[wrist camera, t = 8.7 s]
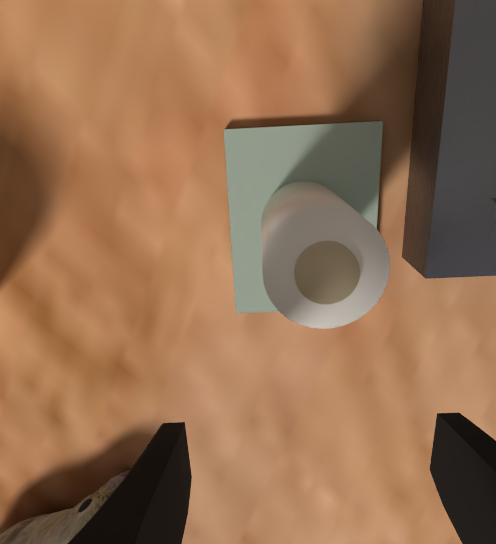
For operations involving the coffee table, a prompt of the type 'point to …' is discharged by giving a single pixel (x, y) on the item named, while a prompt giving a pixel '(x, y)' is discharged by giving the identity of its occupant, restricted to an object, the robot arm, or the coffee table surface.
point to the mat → (286, 169)
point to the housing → (454, 143)
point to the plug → (320, 257)
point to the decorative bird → (61, 519)
